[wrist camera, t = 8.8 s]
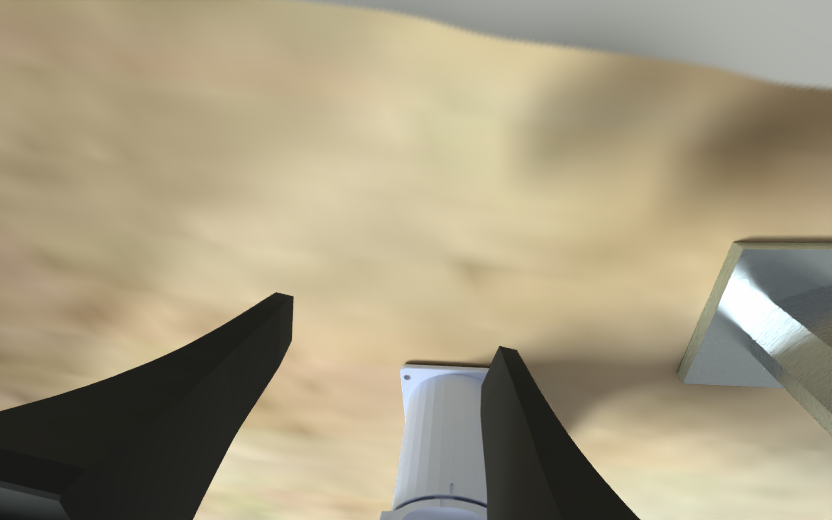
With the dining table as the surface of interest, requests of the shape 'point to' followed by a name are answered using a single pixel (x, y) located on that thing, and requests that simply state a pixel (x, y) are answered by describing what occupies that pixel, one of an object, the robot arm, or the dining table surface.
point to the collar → (799, 349)
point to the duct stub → (749, 308)
